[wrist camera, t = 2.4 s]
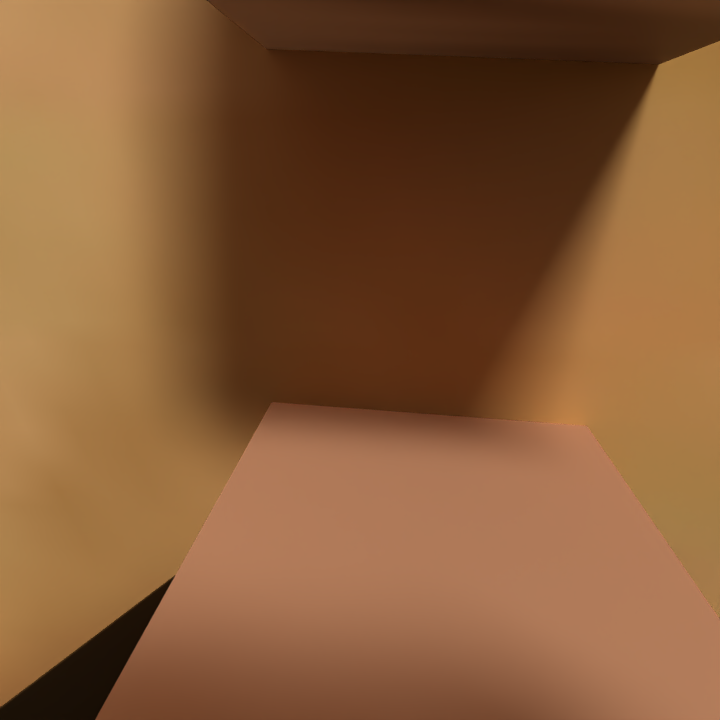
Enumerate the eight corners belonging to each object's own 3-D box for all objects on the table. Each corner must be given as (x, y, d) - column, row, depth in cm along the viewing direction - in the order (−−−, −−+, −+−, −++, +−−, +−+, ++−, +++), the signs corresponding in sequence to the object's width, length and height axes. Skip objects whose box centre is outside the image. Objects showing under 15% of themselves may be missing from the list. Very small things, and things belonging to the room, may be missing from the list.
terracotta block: (586, 424, 9) (913, 902, 3) (536, 664, 10) (691, 1255, 5) (271, 401, 9) (49, 800, 3) (273, 638, 11) (128, 1165, 5)
